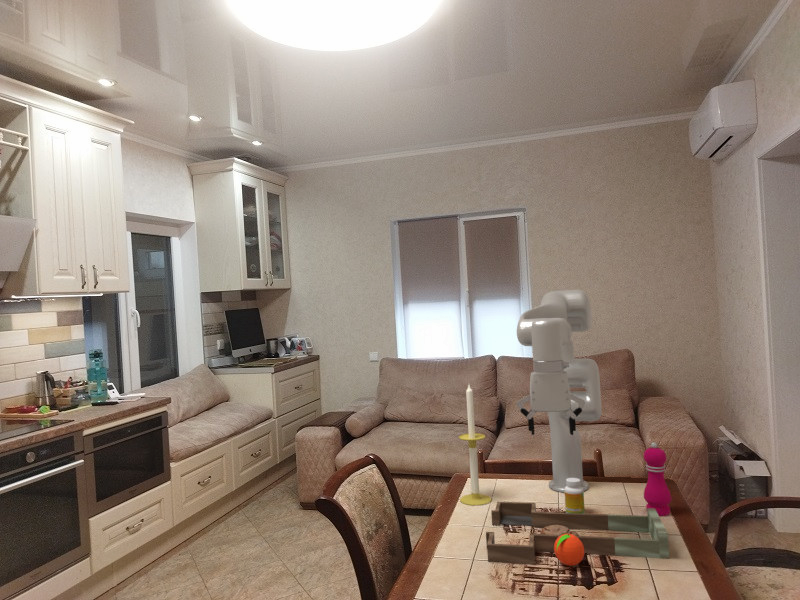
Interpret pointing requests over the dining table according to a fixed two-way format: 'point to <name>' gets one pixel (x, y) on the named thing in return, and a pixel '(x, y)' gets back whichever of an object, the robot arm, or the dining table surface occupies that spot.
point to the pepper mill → (656, 481)
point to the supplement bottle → (574, 496)
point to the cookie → (557, 530)
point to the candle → (473, 456)
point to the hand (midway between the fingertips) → (552, 433)
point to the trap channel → (592, 545)
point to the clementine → (569, 549)
